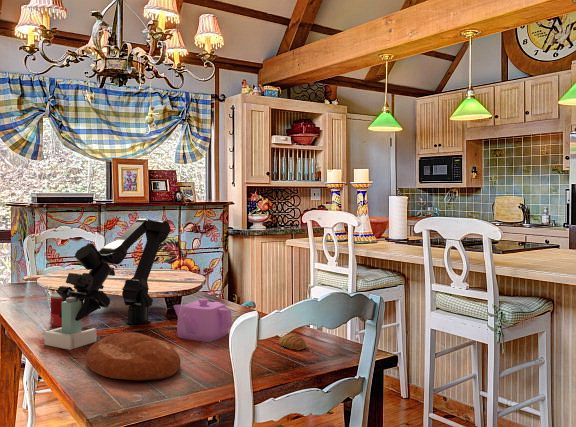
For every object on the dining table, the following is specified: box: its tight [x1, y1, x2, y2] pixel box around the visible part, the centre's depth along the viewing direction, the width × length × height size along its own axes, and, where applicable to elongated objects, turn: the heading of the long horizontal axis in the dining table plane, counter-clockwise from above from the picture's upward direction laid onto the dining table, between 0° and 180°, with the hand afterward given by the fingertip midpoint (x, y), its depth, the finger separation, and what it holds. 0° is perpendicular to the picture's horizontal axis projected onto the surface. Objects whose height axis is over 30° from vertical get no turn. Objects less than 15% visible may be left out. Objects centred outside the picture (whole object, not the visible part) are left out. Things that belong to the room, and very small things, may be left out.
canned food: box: [50, 292, 63, 329], centre depth 187 cm, size 8×8×11 cm
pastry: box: [278, 332, 307, 351], centre depth 165 cm, size 9×7×4 cm
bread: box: [86, 331, 181, 382], centre depth 144 cm, size 23×32×9 cm
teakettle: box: [173, 298, 233, 343], centre depth 176 cm, size 17×17×12 cm
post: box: [62, 297, 82, 335], centre depth 166 cm, size 4×4×14 cm
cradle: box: [44, 327, 97, 350], centre depth 166 cm, size 10×11×4 cm
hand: (68, 318), depth 165 cm, fingers open, 7 cm apart
